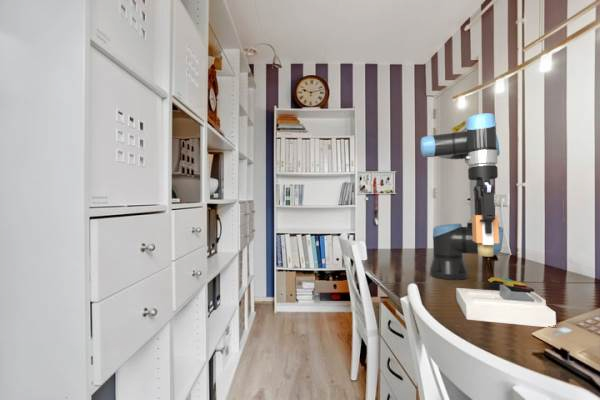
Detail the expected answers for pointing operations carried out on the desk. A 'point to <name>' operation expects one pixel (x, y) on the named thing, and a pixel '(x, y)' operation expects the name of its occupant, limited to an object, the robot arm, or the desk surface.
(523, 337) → the desk surface
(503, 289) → the shutter
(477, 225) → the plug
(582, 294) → the desk surface
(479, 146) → the robot arm
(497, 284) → the gadget
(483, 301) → the socket
